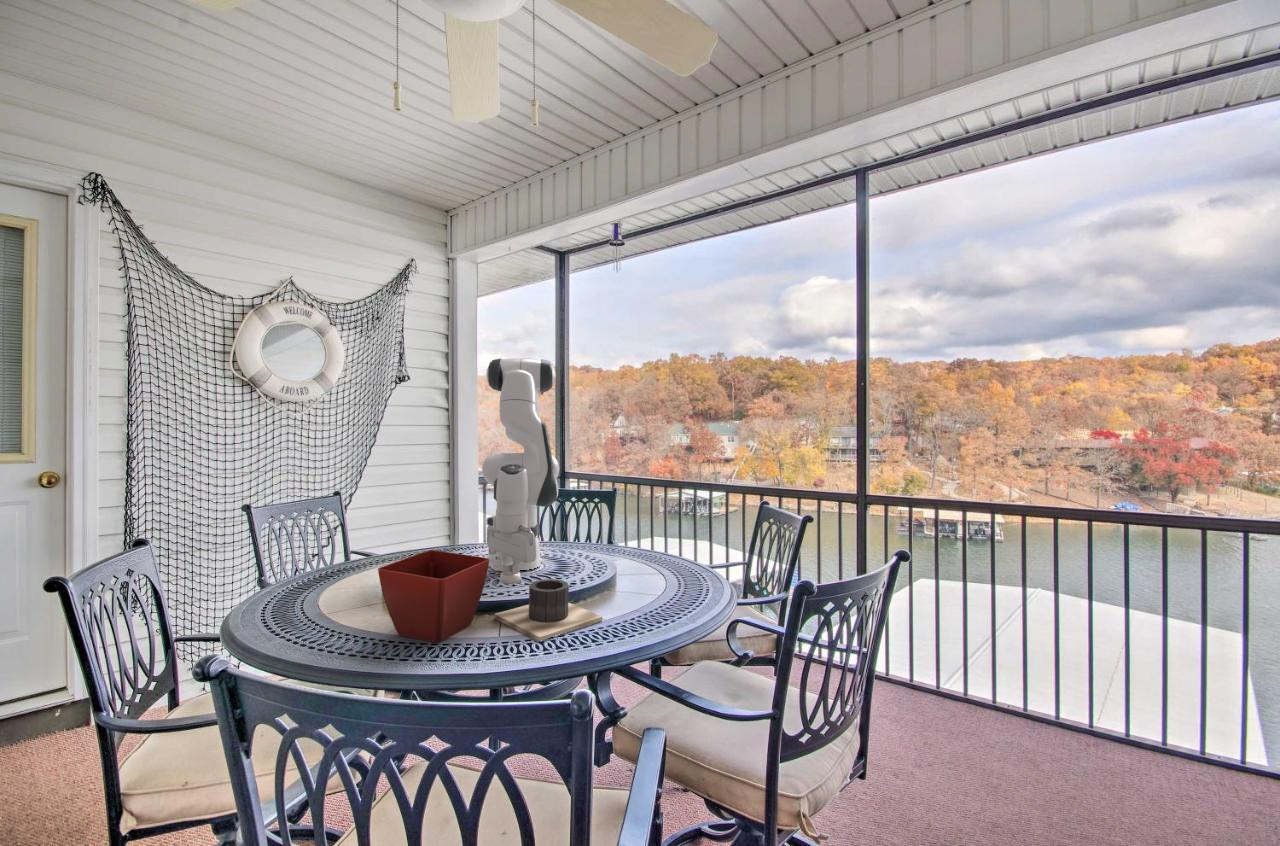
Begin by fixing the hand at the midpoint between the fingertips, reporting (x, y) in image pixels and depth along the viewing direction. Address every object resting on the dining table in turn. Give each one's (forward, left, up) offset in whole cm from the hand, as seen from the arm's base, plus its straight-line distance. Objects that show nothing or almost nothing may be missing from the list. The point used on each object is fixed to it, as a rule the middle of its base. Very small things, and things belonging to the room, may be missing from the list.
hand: (510, 570), depth 166 cm
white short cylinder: (0, 0, -3) cm, 3 cm away
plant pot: (+6, -25, -9) cm, 27 cm away
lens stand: (+19, 0, -9) cm, 21 cm away
